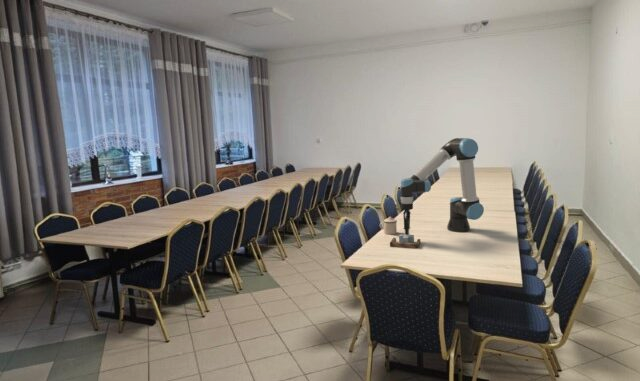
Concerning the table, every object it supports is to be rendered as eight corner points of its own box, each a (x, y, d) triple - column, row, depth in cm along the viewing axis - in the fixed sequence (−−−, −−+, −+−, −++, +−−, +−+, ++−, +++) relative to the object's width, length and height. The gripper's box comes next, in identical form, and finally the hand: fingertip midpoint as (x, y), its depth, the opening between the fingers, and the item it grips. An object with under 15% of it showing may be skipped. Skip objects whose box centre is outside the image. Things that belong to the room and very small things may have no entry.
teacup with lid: (398, 231, 283) (398, 215, 281) (395, 235, 275) (394, 218, 273) (381, 230, 288) (381, 214, 286) (378, 233, 280) (377, 217, 278)
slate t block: (414, 242, 257) (414, 235, 256) (412, 245, 250) (412, 238, 249) (399, 241, 260) (399, 234, 260) (397, 244, 253) (397, 237, 252)
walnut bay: (420, 242, 254) (420, 239, 254) (417, 248, 243) (417, 244, 243) (393, 241, 260) (393, 237, 260) (390, 246, 249) (389, 242, 249)
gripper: (402, 200, 263) (402, 235, 266) (399, 204, 251) (399, 241, 254) (414, 201, 260) (414, 236, 264) (411, 205, 248) (411, 241, 252)
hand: (407, 238), depth 259 cm, fingers closed
